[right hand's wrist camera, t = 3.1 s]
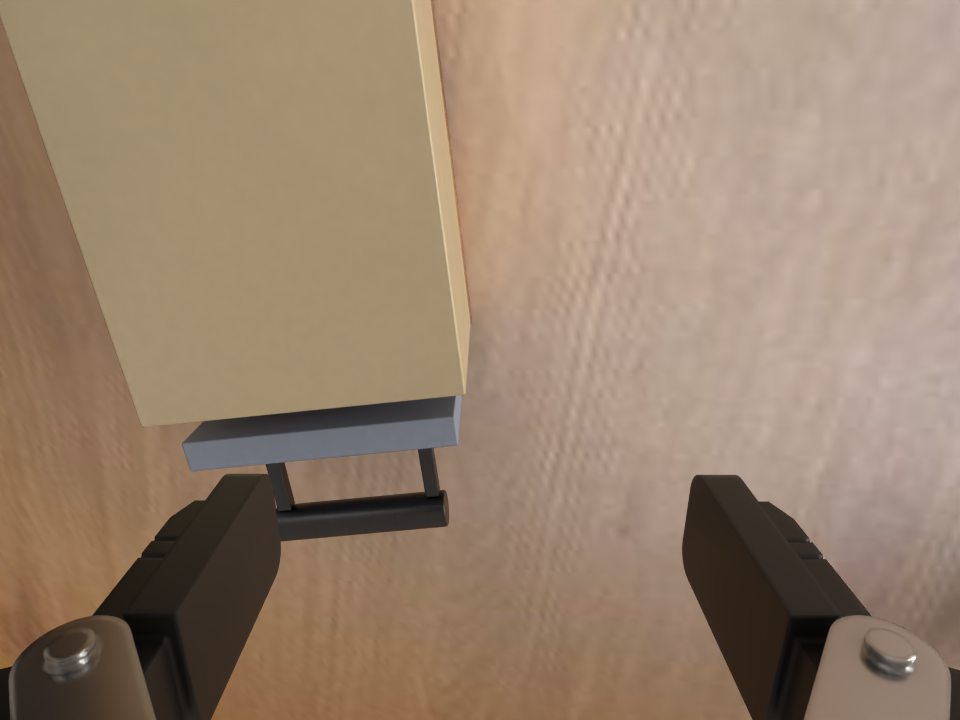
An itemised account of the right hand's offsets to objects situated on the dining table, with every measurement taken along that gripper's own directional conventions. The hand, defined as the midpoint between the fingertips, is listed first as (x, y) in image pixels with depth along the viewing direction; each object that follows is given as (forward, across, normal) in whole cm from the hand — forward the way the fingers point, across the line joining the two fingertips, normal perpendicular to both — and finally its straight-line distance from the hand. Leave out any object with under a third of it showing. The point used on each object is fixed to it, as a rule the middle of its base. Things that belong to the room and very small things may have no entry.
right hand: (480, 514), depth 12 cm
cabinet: (+18, +7, -8) cm, 21 cm away
